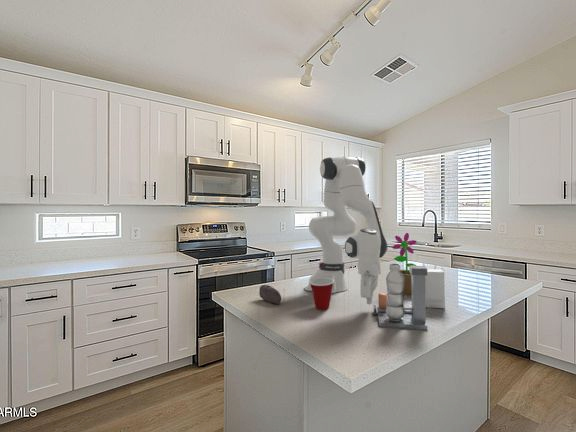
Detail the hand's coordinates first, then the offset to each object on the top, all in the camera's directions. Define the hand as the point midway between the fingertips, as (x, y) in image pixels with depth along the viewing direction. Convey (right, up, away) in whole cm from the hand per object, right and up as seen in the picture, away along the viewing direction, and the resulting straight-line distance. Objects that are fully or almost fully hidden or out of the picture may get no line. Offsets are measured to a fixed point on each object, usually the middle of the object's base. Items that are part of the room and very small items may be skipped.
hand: (369, 303), depth 124 cm
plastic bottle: (+6, -3, -11) cm, 13 cm away
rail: (+11, -4, -2) cm, 12 cm away
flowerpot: (+27, -4, +31) cm, 41 cm away
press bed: (+9, -4, -11) cm, 14 cm away
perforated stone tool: (-41, -5, +17) cm, 45 cm away
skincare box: (+30, -4, +8) cm, 31 cm away
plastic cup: (-19, -5, +8) cm, 21 cm away
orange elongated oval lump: (+5, -3, -1) cm, 6 cm away
